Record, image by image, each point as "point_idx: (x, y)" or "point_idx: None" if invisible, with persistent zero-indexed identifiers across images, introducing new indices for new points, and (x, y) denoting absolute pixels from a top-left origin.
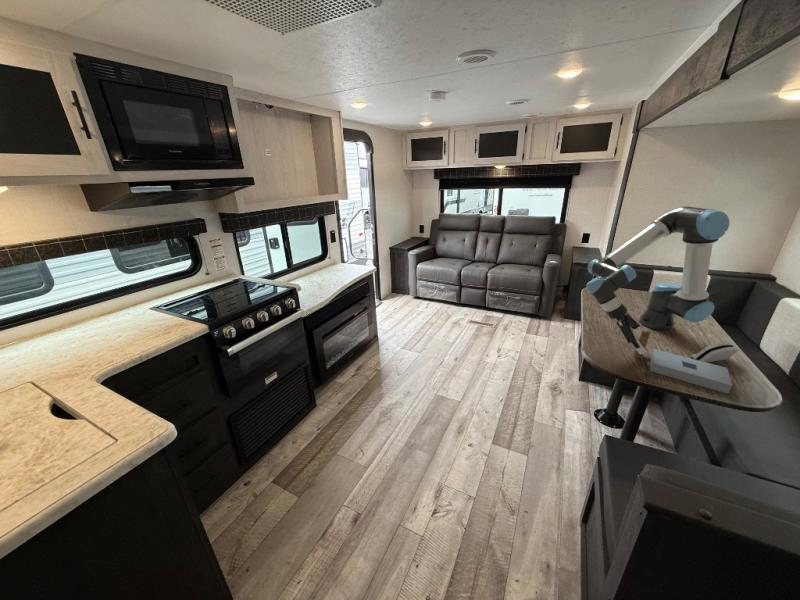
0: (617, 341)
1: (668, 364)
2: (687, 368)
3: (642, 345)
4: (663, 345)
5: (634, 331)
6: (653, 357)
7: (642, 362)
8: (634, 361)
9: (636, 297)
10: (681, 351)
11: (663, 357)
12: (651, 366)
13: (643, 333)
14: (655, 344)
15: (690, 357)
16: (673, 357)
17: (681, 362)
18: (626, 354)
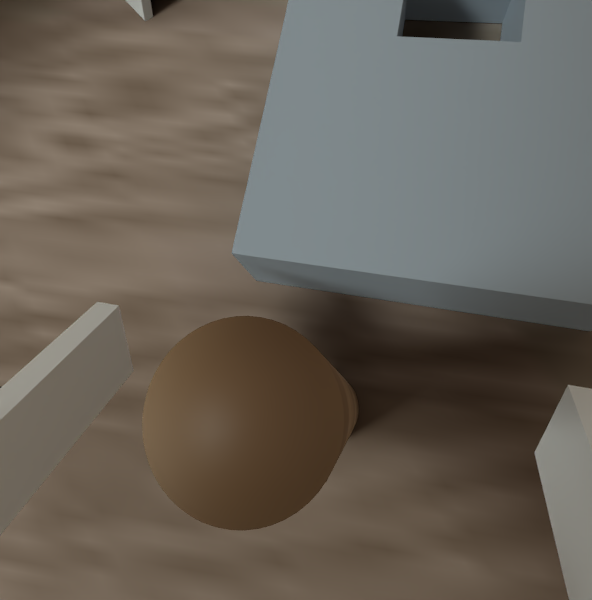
0: (53, 564)
1: (571, 159)
2: (550, 9)
3: (354, 411)
4: (4, 160)
5: (4, 517)
6: (466, 287)
7: (432, 377)
8: (454, 455)
9: None
10: (65, 55)
11: (408, 187)
12: (562, 318)
13: (318, 488)
14: (6, 216)
15: (150, 9)
16: (354, 98)
17: (434, 44)
18: (327, 515)
